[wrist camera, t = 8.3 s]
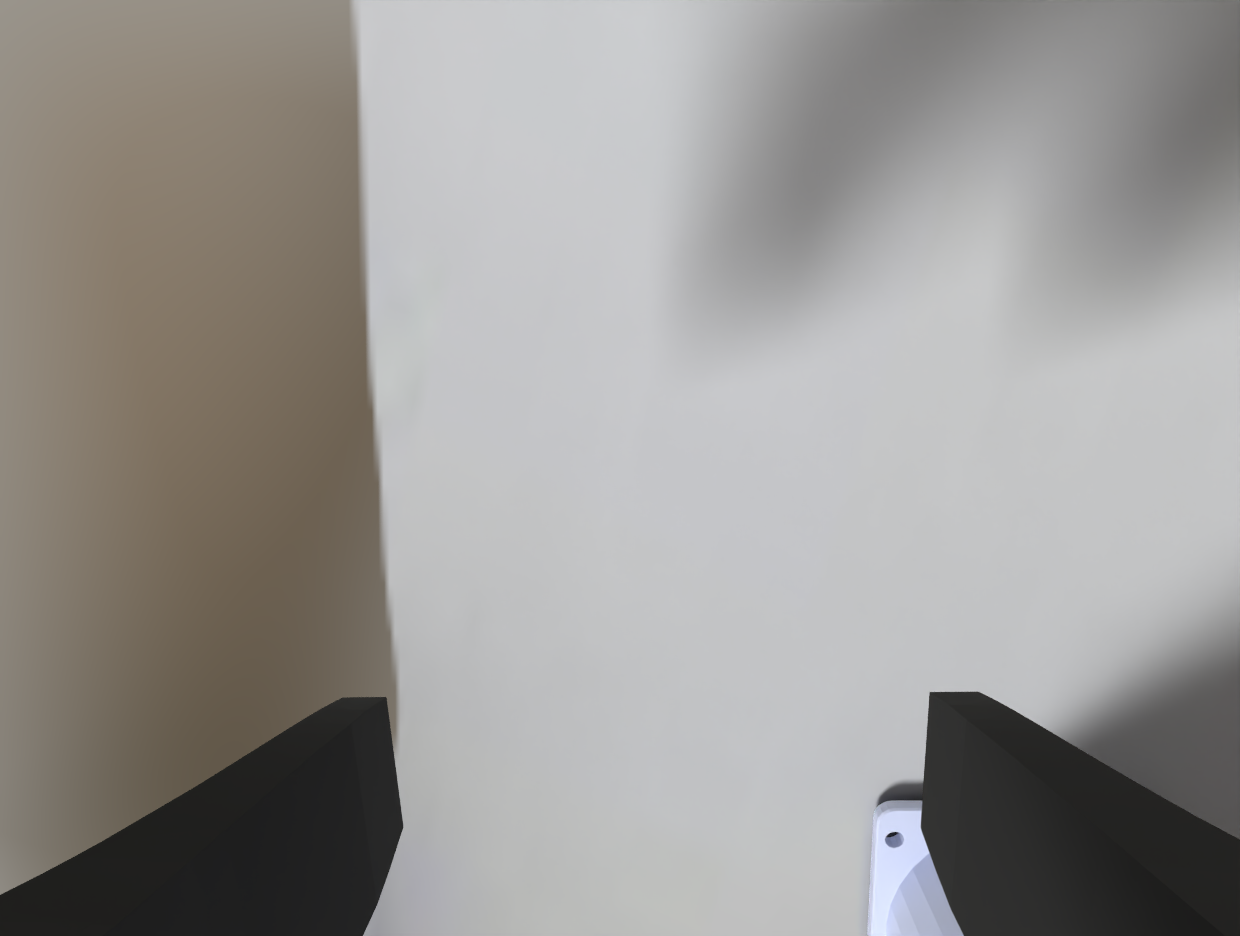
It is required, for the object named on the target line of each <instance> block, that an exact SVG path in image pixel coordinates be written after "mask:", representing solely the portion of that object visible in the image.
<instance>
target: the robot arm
mask: <svg viewBox="0 0 1240 936" xmlns="http://www.w3.org/2000/svg"><path fill="white" fill-rule="evenodd" d="M402 829H403V821H402V813H401V805H400V798H399V790H398V783H397V775H396V767H395V760H394V752H393V744H392V737H391V729H390V722H389V714H388V707H387V698H386V697H353V698H341V699H339V700H337V701H335V702H333V703H331V704H329V705H328V706H326V707H324V708H322V709H320V710H319V711H317V712H315V713H313V714H312V715H310V716H308V717H307V718H305V719H303V720H302V721H300V722H298V723H297V724H295V725H294V726H292V727H290V728H289V729H287V730H286V731H284V732H282V733H281V734H279V735H278V736H276V737H274V738H273V739H271V740H270V741H268V742H267V743H265V744H263V745H262V746H260V747H259V748H257V749H255V750H254V751H252V752H251V753H249V754H247V755H246V756H244V757H242V758H241V759H239V760H238V761H236V762H234V763H233V764H231V765H230V766H228V767H226V768H225V769H224V770H222V771H220V772H219V773H217V774H215V775H214V776H212V777H210V778H209V779H207V780H206V781H204V782H203V783H201V784H199V785H198V786H196V787H194V788H193V789H191V790H189V791H188V792H186V793H184V794H182V795H181V796H179V797H177V798H176V799H174V800H172V801H171V802H169V803H167V804H165V805H164V806H162V807H160V808H158V809H157V810H155V811H153V812H152V813H150V814H148V815H146V816H145V817H143V818H141V819H140V820H138V821H136V822H135V823H133V824H131V825H129V826H128V827H126V828H125V829H123V830H121V831H119V832H117V833H116V834H114V835H112V836H111V837H109V838H107V839H105V840H104V841H102V842H100V843H98V844H97V845H95V846H93V847H91V848H89V849H87V850H86V851H84V852H82V853H80V854H78V855H77V856H75V857H73V858H71V859H69V860H67V861H65V862H63V863H62V864H60V865H58V866H56V867H54V868H52V869H50V870H48V871H46V872H45V873H43V874H41V875H39V876H37V877H35V878H33V879H31V880H29V881H27V882H25V883H23V884H21V885H19V886H17V887H15V888H13V889H11V890H9V891H7V892H5V893H3V894H1V895H0V936H363V934H364V932H365V930H366V928H367V925H368V923H369V921H370V919H371V917H372V915H373V912H374V910H375V908H376V906H377V903H378V901H379V898H380V895H381V892H382V889H383V886H384V884H385V881H386V878H387V875H388V872H389V869H390V866H391V863H392V860H393V857H394V854H395V851H396V848H397V845H398V842H399V839H400V836H401V832H402ZM891 832H898V834H896V835H895V836H893V837H886V836H887V835H888V834H889V833H891ZM867 936H1240V840H1239V839H1237V838H1236V837H1234V836H1232V835H1230V834H1228V833H1226V832H1224V831H1222V830H1221V829H1219V828H1217V827H1215V826H1213V825H1211V824H1209V823H1207V822H1206V821H1204V820H1202V819H1200V818H1198V817H1196V816H1194V815H1193V814H1191V813H1189V812H1187V811H1185V810H1184V809H1182V808H1180V807H1178V806H1177V805H1175V804H1173V803H1171V802H1169V801H1168V800H1166V799H1164V798H1162V797H1161V796H1159V795H1157V794H1155V793H1153V792H1152V791H1150V790H1148V789H1147V788H1145V787H1143V786H1141V785H1140V784H1138V783H1136V782H1134V781H1133V780H1131V779H1129V778H1127V777H1126V776H1124V775H1122V774H1121V773H1119V772H1117V771H1116V770H1114V769H1112V768H1110V767H1109V766H1107V765H1105V764H1104V763H1102V762H1100V761H1099V760H1097V759H1095V758H1093V757H1092V756H1090V755H1088V754H1087V753H1085V752H1083V751H1082V750H1080V749H1078V748H1077V747H1075V746H1073V745H1072V744H1070V743H1068V742H1067V741H1065V740H1063V739H1062V738H1060V737H1058V736H1056V735H1055V734H1053V733H1051V732H1050V731H1048V730H1046V729H1045V728H1043V727H1041V726H1040V725H1038V724H1036V723H1035V722H1033V721H1031V720H1029V719H1028V718H1026V717H1024V716H1023V715H1021V714H1019V713H1017V712H1016V711H1014V710H1012V709H1010V708H1009V707H1007V706H1005V705H1003V704H1001V703H1000V702H998V701H996V700H994V699H992V698H990V697H988V696H986V695H984V694H982V693H980V692H930V696H929V711H928V725H927V740H926V754H925V769H924V784H923V798H922V800H892V801H886V802H884V803H882V804H880V805H879V806H878V807H877V808H876V809H875V812H874V815H873V833H872V853H871V873H870V893H869V913H868V933H867Z"/></svg>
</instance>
